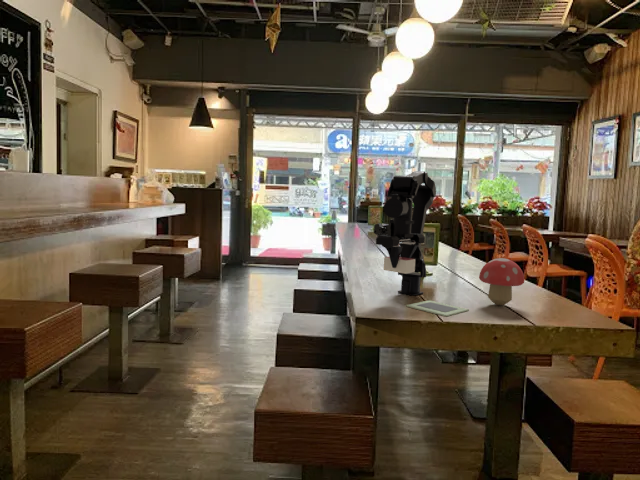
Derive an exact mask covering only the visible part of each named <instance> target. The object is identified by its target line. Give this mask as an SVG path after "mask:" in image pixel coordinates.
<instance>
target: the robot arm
mask: <svg viewBox="0 0 640 480" xmlns="http://www.w3.org/2000/svg"><path fill="white" fill-rule="evenodd" d="M390 180H391V181H390V183H389V187H388V192H387V194H386V198H389V199H388V200H386V201H385V203H384V205H383V212H384V213H385V215H386V216H387V217H389V218H391V219H389V221H388V224H385V225H383V224H382V223H375V224H374V227H373V234H375V235H376V237H375V245H379V246H381V247H383V248H385V250H386V251H387V253H388V257H390V260H391V264H392V267H393V268H396V266H397V264H398V261H399V257H405V258H412V259H415V272H412V273H407V274H404V273H398V272H397V275H398V276H401V287H400V290H397V293H400V294H403V295H409V296H412V297H413V296H417V295H422V294H424V291H421V280H422V279H421V278H426V277H427V266H426V265H427V264H426V263H425V257H424V255H423V252H422V250H421V248H422V247H421V246H422V244H425V242H426V241H425V238H426V237H425V236H424V234H423V233H424V230H425V225H426V224H425V223H426V217H427V212H428V210H429V208H430V207H431V206H432V205H433V203H434V199H435V198H436V195H437V188H436V183H435V181H434V179H432V178H431V177H430V176H429V173H428V172H426V170H425V171H423V170H422V171H421V170H420V171H419V170H414V171H411V173H409V174H407V175H399V174H398V175H394V176H393V178H391V179H390Z"/></svg>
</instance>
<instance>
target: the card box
mask: <svg viewBox="0 0 640 480" xmlns="http://www.w3.org/2000/svg"><path fill="white" fill-rule="evenodd" d="M383 270H384V271H388V272H393V273H397V274H398V273H404V274H407V273H412V272H414V273H415V259H412V258H405V257H399V261H398V264H397V266H396V268H393V267H392V264H391V260H390V257H389V256H384V257H383Z"/></svg>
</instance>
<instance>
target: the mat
mask: <svg viewBox="0 0 640 480" xmlns="http://www.w3.org/2000/svg"><path fill="white" fill-rule="evenodd" d="M406 307H407V308H410V309H411V308H412V309H415V310H419V311H422V312H427V313H432V314H435V315H439V316H443V317H449V316H454V315H458V314H461V313H465V312H468V311H469V310H470V309H469V308H465V307H461V306H456V305H451V304H447V303H443V302H438V301H434V300H423V301H420V302H415V303H411V304H410V303H409V304H406Z"/></svg>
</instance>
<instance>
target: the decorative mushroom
mask: <svg viewBox="0 0 640 480" xmlns="http://www.w3.org/2000/svg"><path fill="white" fill-rule="evenodd" d="M478 278H479V280H480V281H481V282H482V283H484V284H488V285H489V288H488V294H487V298H488V299H489V300H490V301H491V302H492V303H493V304H494V305H496V306H504V305H507V304H508V303H510V302H511V301H512V299H513V293H512V292H513V290H512V289H513V288H512V287H520V286H522V285H523V284H524V283H525V275H524V272H523V269H521V267H520V266H519V265H518V264H517V263H516V262H515V261H513V260H511V259H510V258H509V259H508V258H503V257H499V258H494V259H492V260H490V261H488V262H487V263H485V264H484V265H483V266H482V268H481V269H480V272H479V277H478Z"/></svg>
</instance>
